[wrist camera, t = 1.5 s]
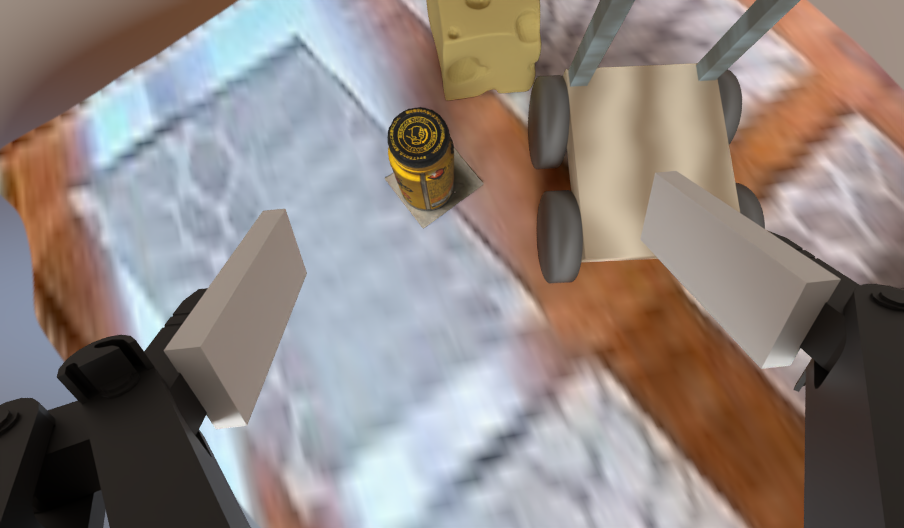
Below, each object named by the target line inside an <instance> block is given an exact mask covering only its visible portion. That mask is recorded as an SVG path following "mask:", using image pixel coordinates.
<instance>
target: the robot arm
mask: <svg viewBox="0 0 904 528" xmlns="http://www.w3.org/2000/svg"><path fill="white" fill-rule="evenodd" d="M640 240H641V241H642V242H643V243H644V244H645V245H646V246H647V247H648V248H649V249H650V250H651V251H652V252H653V254H654V255H655V256H656V257H657V258H658V259H659V260H660V261H661V262H662V263H663V264H664V265H665V266H666V267H667V269H668V270H669V271H670V272H671V273H672V274H673V275H674V276H675V277H676V278H677V279H678V280H679V281H680V282H681V283H682V285H683V286H684V287H685V288H686V289H687V290H688V291H689V292H690V293H691V294H692V295H693V296H694V297H695V298H696V300H697V301H698V302H699V303H700V304H701V305H702V306H703V307H704V308H705V309H706V310H707V311H708V312H709V313H710V314H711V316H712V317H713V318H714V319H715V320H716V321H717V322H718V323H719V324H720V325H721V326H722V327H723V328H724V329H725V331H726V332H727V333H728V334H729V335H730V336H731V337H732V338H733V339H734V340H735V341H736V342H737V343H738V344H739V345H740V347H741V348H742V349H743V350H744V351H745V352H746V353H747V354H748V355H749V356H750V357H751V358H752V359H753V360H754V362H755V363H756V364H757V365H758V366H759V367H760V368H761V369H763V368H773V367H782V366H790V365H791V363H792V362H793V360H794V358H795V357H796V355H797V353H798V351H799V350H800V348H801V349H803V350H804V351H805V352H806V353H807V354H808V355H809V356H810V357H811V358H812V359H811V361H810V362H809V364H808V366H807V367H806V369H805V370H804V372H803V374H802V375H801V377H800V378H799V380H798V382H797V383H796V385H795V387H794V390H796V391H798V392H799V391H800V389H801V387H802V386H805V385H806V403H805V488H804V528H904V288H901V289H898V288H894V287H891V286H885V285H879V284H863V285H861V286H860V285H859V284H857V283H856V282H854V281H852V280H851V279H849V278H848V277H846V276H845V275H843V274H842V273H840V272H839V271H837V270H835V269H834V268H832V267H831V266H829V265H828V264H826V263H825V262H823V261H821V260H820V259H818V258H817V259H815V256H814V255H812V254H811V253H809V252H807V251H806V250H802V248H801V247H800V246H798V245H797V244H795V243H794V242H792V241H790V240H789V239H787V238H785V237H783V236H780V235H777V234H775V233H772V232H770V231H767V230H765V229H764V228H762V227H761V226H759V225H758V224H756V223H755V222H753V221H752V220H750V219H749V218H747V217H746V216H744V215H743V214H741V213H740V212H738V211H736V210H735V209H733V208H732V207H730V206H729V205H727V204H726V203H724V202H723V201H721V200H720V199H718V198H717V197H715V196H714V195H712V194H711V193H709V192H708V191H706V190H705V189H703V188H702V187H700V186H699V185H697V184H696V183H694V182H692V181H691V180H689V179H688V178H686V177H685V176H683V175H682V174H680V173H679V172H677V171H669V172H658V173H655V176H654V180H653V185H652V189H651V194H650V198H649V203H648V207H647V211H646V216H645V220H644V225H643V229H642V234H641V238H640ZM306 274H307V272H306V269H305V266H304V263H303V260H302V257H301V254H300V251H299V248H298V245H297V242H296V239H295V236H294V233H293V230H292V227H291V224H290V221H289V218H288V215H287V212H286V209H278V210H267V211H263V212H262V213H261V215H260V216H259V217H258V219H257V220H256V222H255V223H254V224H253V226H252V227H251V229H250V230H249V231H248V233H247V234H246V236H245V237H244V238H243V240H242V241H241V243H240V244H239V245H238V247H237V248H236V250H235V251H234V253H233V254H232V255H231V257H230V258H229V260H228V261H227V262H226V264H225V265H224V267H223V268H222V269H221V271H220V272H219V274H218V275H217V276H216V278H215V279H214V281H213V282H212V283H211V285H210V286H209V288H206V289H198V290H197V291H196V292H194V293H193V294H192V295H190V296H189V297H188V298H186V299H185V300H184V301H183V302H182V303H181V304H180V305H179V307H178V308H177V309H176V311H175V312H174V313H173V317H170V319H169V320H168V321H167V322H166V324H165V328H162V329H161V330H160V332H159V333H158V334H157V336H156V337H155V338H154V339H153V341H152V342H151V343H150V345H149V346H148V347H147V349H146V350H145V351H143V350H142V348H141V347H140V346H139V344H138V343H137V341H136V340H135V339H134V338H132V337H131V336H127V335H116V336H111V337H106V338H104V339H101V340H98V341H95V342H93V343H91V344H89V345H87V346H85V347H84V348H82V349H80V350H78V351H77V352H76V353H74V354H73V355H72V356H70V357H69V358H68V359H67V360H66V361H65V362H64V363H63V365H62V366H61V367H60V368H59V370H58V374H57V378H58V379H59V380H60V381H61V382H62V383H63V385H65V387H66V388H67V389H68V390H69V391H70V392H71V393H72V394H73V395H74V397H75V398H76V399H77V400H78V401H75V402H72V403H69V404H66V405H63V406H60V407H57V408H54V409H51V410H48V411H47V410H46V409H45V408H44V407H43V406H42V405H41V404H40V403H39V402H38V401H36V400H35V399H33V398H20V399H16V400H13V401H9V402H6V403H3V404H1V405H0V528H103V525H104V517H105V510H106V513H107V517H108V522H109V526H110V528H251V527H250V525H249V523H248V521H247V519H246V517H245V515H244V513H243V512H242V510H241V508H240V506H239V504H238V502H237V500H236V498H235V496H234V494H233V492H232V490H231V488H230V486H229V484H228V482H227V480H226V478H225V476H224V474H223V472H222V471H221V469H220V467H219V465H218V463H217V461H216V459H215V457H214V455H213V453H212V451H211V449H210V447H209V445H208V443H207V441H206V439H205V437H204V436H203V434H202V433H201V432H200V430H199V428H200V426H201V424H202V422H203V420H204V418H205V416H206V415H207V416H208V418H209V419H210V421H211V422H212V424H213V425H214V427H215V428H216V429H222V428H231V427H240V426H247V425H248V422H249V419H250V417H251V414H252V412H253V409H254V407H255V404H256V402H257V399H258V396H259V394H260V391H261V389H262V386H263V384H264V381H265V379H266V376H267V374H268V371H269V368H270V366H271V363H272V361H273V358H274V356H275V353H276V351H277V348H278V346H279V343H280V340H281V338H282V335H283V333H284V330H285V328H286V325H287V323H288V320H289V317H290V315H291V312H292V310H293V307H294V305H295V302H296V300H297V297H298V295H299V292H300V289H301V287H302V284H303V282H304V279H305V277H306Z"/></svg>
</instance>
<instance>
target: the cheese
mask: <svg viewBox="0 0 904 528" xmlns="http://www.w3.org/2000/svg"><path fill="white" fill-rule="evenodd" d="M427 10H428V17H429V22H430V27H431V31H432V34H433V38H434V41H435V45H436V49H437V53H438V58H439V62H440V67H441V73H442V79H443V88H444V94H445V99H446V100H447V101H449V100H456V99H463V98H469V97H475V96H479V95H481V94H483V93H484V92H486V91H488V90H492V89H495V90H497V92H498V93H511V92H525V91H528V90H529V89H530V88H531V87H532V85H533V83H534V80H535V62H536V61H538V59H539V56H540V52H541V39H540V0H427Z"/></svg>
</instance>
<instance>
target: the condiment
mask: <svg viewBox="0 0 904 528" xmlns="http://www.w3.org/2000/svg"><path fill="white" fill-rule="evenodd" d="M388 145H389V148H388V156H389V161H390V165H391V167H392V169H393V172H394V173H392V174H391V175H389V176H388V177H386V178H385V180H386V181H387V182H388V184H389V185H390V186H391V188H392V189H393V190H394V192H395V193H396V194H397V195H398V197H399V198H400V199H401V201H402V202H403V203H404V205H405V206H406V207H407V208H408V210H409V211H410V212H411V214H412V215H413V216H414V217H415V219H416V220H417V221H418V223H419V224H420V225H421V227H422V228H425V227H426V226H428V225H429V224H430V223H432V222H433V221H435V220H436V219H437V218H439V217H440V216H441V215H443V214H444V213H446V212H447V211H448V210H450V209H451V208H452V207H453V206H455V205H456V204H457V203H459V202H460V201H461V200H463V199H464V198H466V197H467V196H468V195H470V194H471V193H472V192H474V191H475V190H476V189H478V188H479V187H480V186H482V185H483V182H482V181H481V180H480V179H479V178H478V177H477V175H476V174H475V173H474V172H473V171H472V169H471V168H470V167H469V166H468V165H467V163H466V162H465V161H464V160H463V158H462V157H461V156H460V155H459V153H458V152H457V151H456V150H455V148H454V145H453V141H452V139H451V137H450V134H449V129H448V127H447V124H446V123H445V121H444V120H443V119H442V117H441V116H440V115H439V114H437V113H436V112H434V111H433V110H430V109H426V108H422V107H419V108H412V109H407V110H405V111H403V112H402V113H400V114H399V115H398V116H396V117H395V118H394V120H393V122H392V124H391V126H390V127H389V130H388Z"/></svg>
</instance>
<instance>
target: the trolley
mask: <svg viewBox="0 0 904 528" xmlns="http://www.w3.org/2000/svg"><path fill="white" fill-rule="evenodd" d="M634 1H635V0H600V2H599V4H598V6H597V9H596V11H595V13H594V15H593V18H592V20H591V22H590V24H589V26H588V29H587V31H586V33H585V35H584V37H583V40H582V42H581V44H580V46H579V48H578V51H577V53H576V55H575V57H574V60H573V62H572V64H571V66H570V68H569V69H566V70H565V72H564V75H563V77H562V76H561V75H558V76H538V77H537V78H536V80H535V82H534V85H533V88H532V92H531V98H530V105H529V117H528V140H529V151H530V157H531V161H532V164H533V166H534V168H535V169H548V168H558V167H559V166H560V164H561V163H562V161H563V158H564V155H565V152H566V147H567V154H568V164H569V174H570V184H571V191H569V190H563V191H546V192H544V194H543V195H542V197H541V200H540V204H539V209H538V217H537V247H538V256H539V262H540V267H541V270H542V274H543V276H544V278H545V280H546V281H547V282H548V283H565V282H573V281H574V280H575V279H576V277H577V275H578V273H579V269H580V265H581V262H598V261H619V260H640V259H658V258H657V257H656V256H655V255H654V254H653V252H652V251H651V250H650V249H649V248H648V247H647V246H646V245H645V244H644V243H643V242H642V241H641V240H640V238H641V234H642V229H643V225H644V220H645V216H646V211H647V207H648V203H649V198H650V194H651V189H652V185H653V180H654V176H655V173H658V172H669V171H677V172H679V173H680V174H682V175H683V176H685V177H686V178H688V179H689V180H691V181H692V182H694V183H696V184H697V185H699V186H700V187H702V188H703V189H705V190H706V191H708V192H709V193H711V194H712V195H714V196H715V197H717V198H718V199H720V200H721V201H723V202H724V203H726V204H727V205H729V206H730V207H732V208H733V209H735V210H736V211H738V212H740V213H741V214H743V215H744V216H746V217H747V218H749V219H750V220H752V221H753V222H755V223H756V224H758V225H759V226H761V227H762V228H764V229H765V223H764V215H763V211H762V208H761V205H760V203H759V201H758V199H757V197H756V196H755V194H754V193H753V192H752V191H751V190H750V189H749V188H747V187H746V186H744V185H742V184H739V183H735V179H734V173H733V167H732V161H731V155H730V149H729V144H730V143H731V141H732V139H733V137H734V135H735V133H736V131H737V128H738V125H739V121H740V117H741V111H742V94H741V88H740V85H739V82H738V80H737V78H736V76H735V75H734V74H733V73H732V72H731V71H729V70H727V69H728V68H729V67H730V66H731V65H732V64H733V63H734V62H736V61H737V60H738V59H739V58H740V57H741V56H742V55H743V54H744V53H745V52H746V51H747V50H748V49H749V48H750V47H751V46H752V45H754V44H755V43H756V42H757V41H758V40H759V39H760V38H761V37H762V36H763V35H764V34H765V33H766V32H767V31H768V30H769V29H771V28H772V27H773V26H774V25H775V24H776V23H777V22H778V21H779V20H780V19H781V18H782V17H783V16H784V15H785V14H786V13H788V12H789V11H790V10H791V9H792V8H793V7H794V6H795V5H796V4H797V3H798V2H799V1H800V0H756V1H755V2H754V3H753V4H752V6H751V7H750V8H749V9H748V10H747V11H746V12H745V13H744V14H743V15H742V16H741V17H740V19H739V20H738V21H737V22H736V23H735V24H734V25H733V26H732V27H731V28H730V29H729V30H728V31H727V33H726V34H725V35H724V36H723V37H722V38H721V39H720V40H719V41H718V42H717V43H716V44H715V45H714V47H713V48H712V49H711V50H710V51H709V52H708V53H707V54H706V55H705V56H704V57H703V58H702V59H701V61H700V62H699V63H696V64H673V65H649V66H626V67H603V68H597V67H598V66H599V64H600V62H601V60H602V58H603V57H604V55H605V53H606V51H607V49H608V48H609V46H610V44H611V42H612V40H613V39H614V37H615V35H616V33H617V31H618V30H619V28H620V26H621V24H622V22H623V21H624V19H625V17H626V15H627V14H628V12H629V10H630V8H631V6H632V5H633V3H634Z"/></svg>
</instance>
